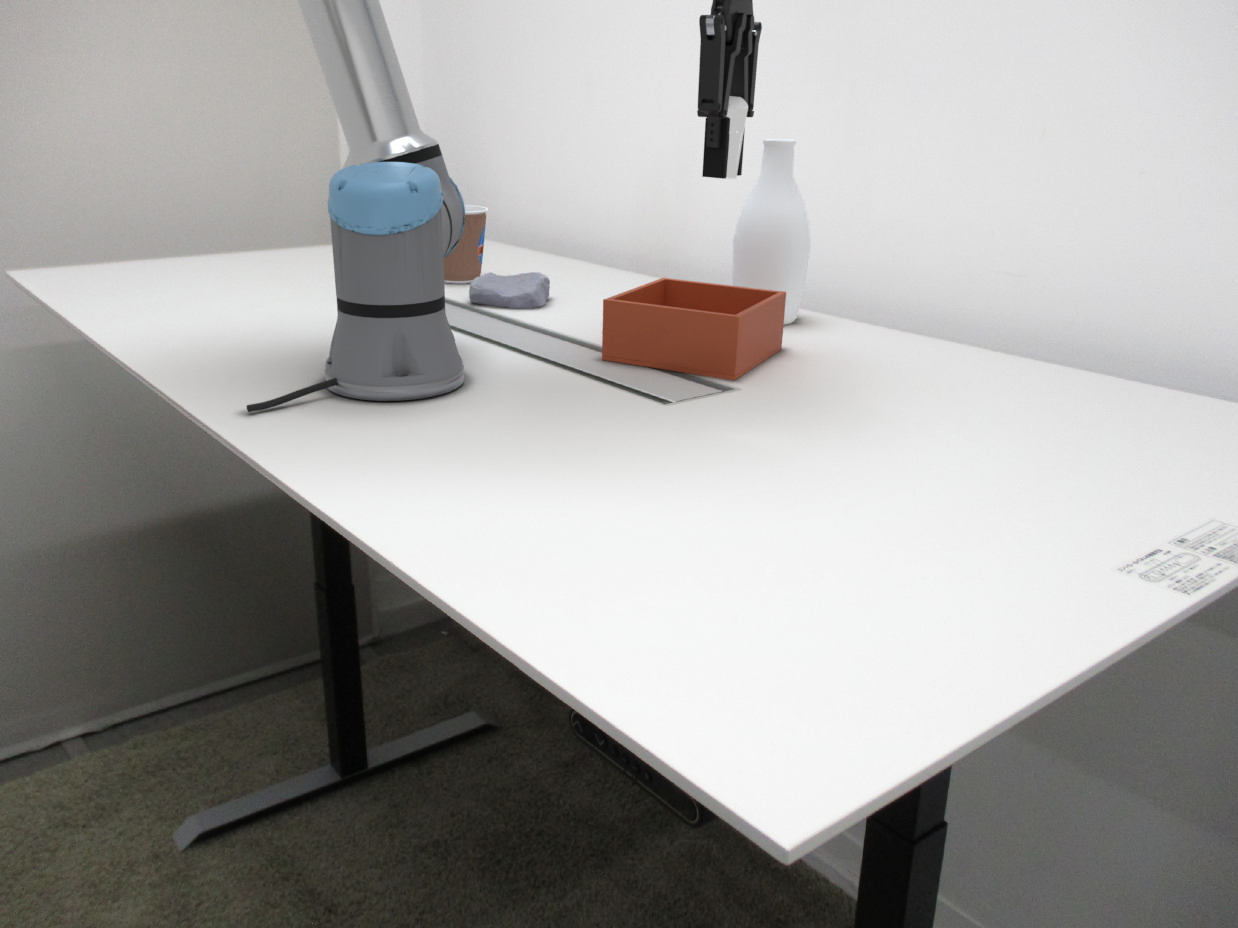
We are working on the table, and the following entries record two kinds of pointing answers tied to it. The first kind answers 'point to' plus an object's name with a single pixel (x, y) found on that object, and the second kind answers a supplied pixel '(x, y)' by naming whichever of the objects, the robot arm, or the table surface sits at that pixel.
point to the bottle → (773, 230)
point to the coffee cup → (467, 248)
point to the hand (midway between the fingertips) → (722, 175)
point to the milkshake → (735, 133)
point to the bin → (693, 327)
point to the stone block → (511, 290)
